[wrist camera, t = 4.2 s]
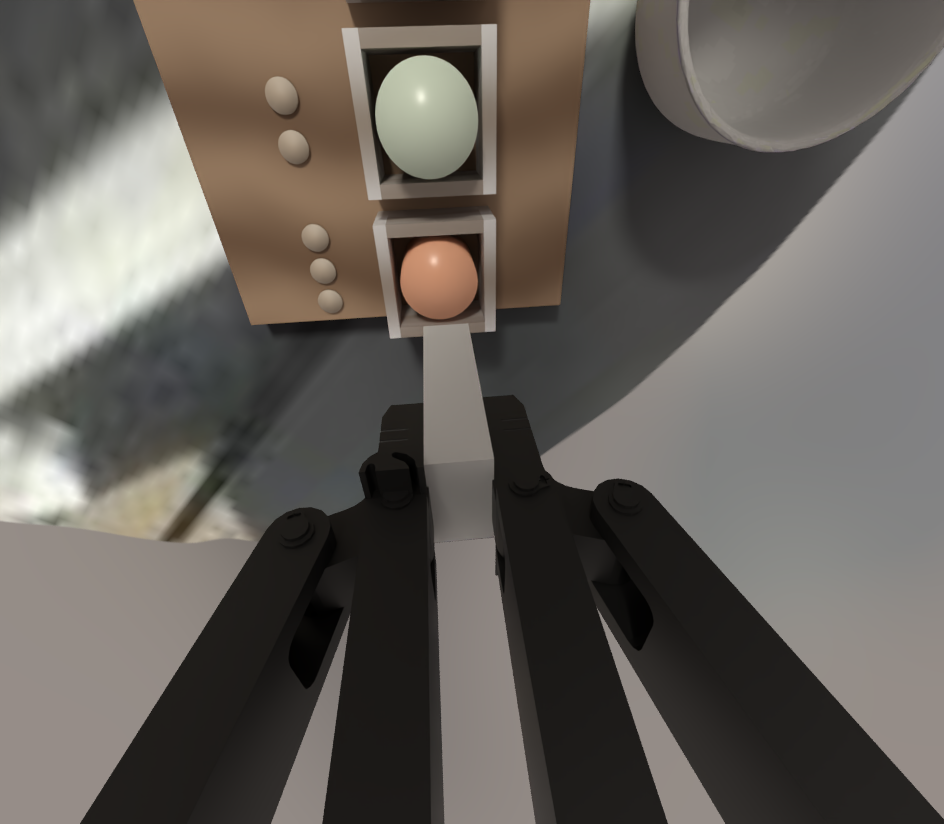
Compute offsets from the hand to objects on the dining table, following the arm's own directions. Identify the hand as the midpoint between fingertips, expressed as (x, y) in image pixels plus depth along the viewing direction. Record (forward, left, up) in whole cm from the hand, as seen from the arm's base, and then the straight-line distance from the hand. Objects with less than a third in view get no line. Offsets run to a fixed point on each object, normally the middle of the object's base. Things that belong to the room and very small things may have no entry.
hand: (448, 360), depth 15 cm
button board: (-7, -2, -14) cm, 15 cm away
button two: (-7, 0, -10) cm, 12 cm away
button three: (0, 0, -12) cm, 12 cm away
